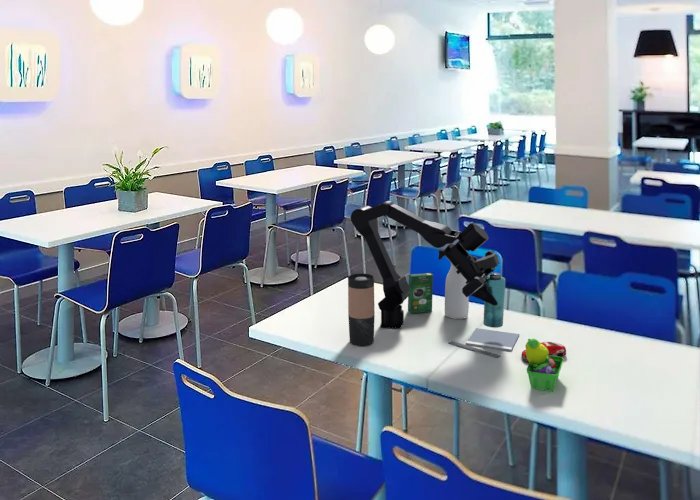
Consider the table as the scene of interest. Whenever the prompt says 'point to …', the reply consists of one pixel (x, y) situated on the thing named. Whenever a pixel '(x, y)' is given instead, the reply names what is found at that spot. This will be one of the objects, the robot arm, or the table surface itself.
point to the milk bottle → (455, 295)
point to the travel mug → (361, 309)
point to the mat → (493, 339)
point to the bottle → (497, 288)
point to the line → (474, 349)
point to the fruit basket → (542, 366)
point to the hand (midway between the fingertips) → (498, 301)
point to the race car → (550, 350)
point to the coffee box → (420, 293)
